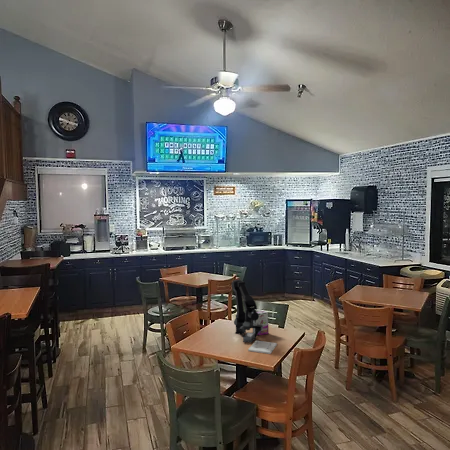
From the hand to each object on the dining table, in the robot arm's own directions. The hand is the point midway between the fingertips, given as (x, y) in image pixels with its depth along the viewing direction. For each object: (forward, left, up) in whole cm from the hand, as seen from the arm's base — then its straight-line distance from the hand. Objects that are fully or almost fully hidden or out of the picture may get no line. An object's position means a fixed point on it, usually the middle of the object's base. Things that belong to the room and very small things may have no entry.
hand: (249, 338), depth 274 cm
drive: (0, 0, -2) cm, 2 cm away
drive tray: (+13, -11, -1) cm, 17 cm away
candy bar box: (+4, +15, -2) cm, 16 cm away
